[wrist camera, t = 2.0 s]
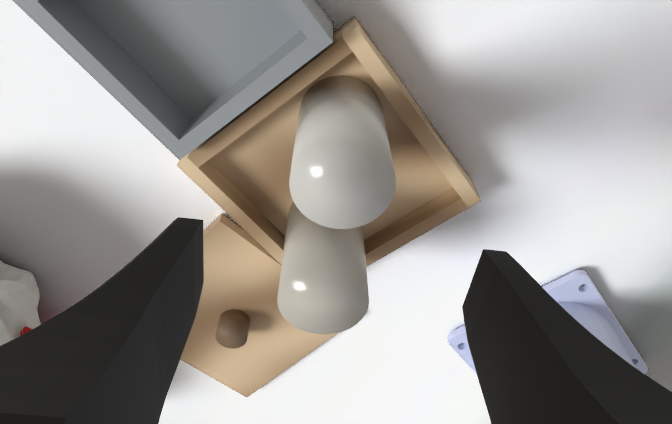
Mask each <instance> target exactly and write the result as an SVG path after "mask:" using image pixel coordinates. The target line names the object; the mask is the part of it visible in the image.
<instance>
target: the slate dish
mask: <svg viewBox="0 0 672 424" xmlns="http://www.w3.org/2000/svg"><path fill="white" fill-rule="evenodd" d="M13 1H14V2H15V3H16V4H17V5H18V6H19V7H20V8H21V9H22V10H23V11H24V12H25V13H26V14H27V15H28V16H29V17H30V18H32V19H33V20H34V21H35V22H36V23H37V24H38V25H39V26H40V27H41V28H42V29H43V30H44V31H45V32H46V33H47V34H48V35H49V36H50V37H51V38H52V39H54V40H55V41H56V42H57V43H58V44H59V45H60V46H61V47H62V48H63V49H64V50H65V51H66V52H67V53H68V54H69V55H70V56H71V57H72V58H73V59H74V60H75V61H77V62H78V63H79V64H80V65H81V66H82V67H83V68H84V69H85V70H86V71H87V72H88V73H89V74H90V75H91V76H92V77H93V78H94V79H95V80H96V81H97V82H98V83H100V84H101V85H102V86H103V87H104V88H105V89H106V90H107V91H108V92H109V93H110V94H111V95H112V96H113V97H114V98H115V99H116V100H117V101H118V102H119V103H120V104H121V105H123V106H124V107H125V108H126V109H127V110H128V111H129V112H130V113H131V114H132V115H133V116H134V117H135V118H136V119H137V120H138V121H139V122H140V123H141V124H142V125H143V126H144V127H146V128H147V129H148V130H149V131H150V132H151V133H152V134H153V135H154V136H155V137H156V138H157V139H158V140H159V141H160V142H161V143H162V144H163V145H164V146H165V147H166V148H167V149H169V150H170V151H171V152H172V153H173V154H174V155H175V156H176V157H177V158H178V159H179V160H181V159H182V158H183V157H184V156H186V155H187V154H188V153H190V152H191V151H192V150H194V149H195V148H196V147H197V146H199V145H200V144H201V143H203V142H204V141H205V140H207V139H208V138H209V137H210V136H212V135H213V134H214V133H216V132H217V131H218V130H220V129H221V128H222V127H223V126H225V125H226V124H227V123H229V122H230V121H231V120H233V119H234V118H235V117H236V116H238V115H239V114H240V113H242V112H243V111H244V110H245V109H247V108H248V107H249V106H251V105H252V104H253V103H255V102H256V101H257V100H258V99H260V98H261V97H262V96H264V95H265V94H266V93H268V92H269V91H270V90H271V89H273V88H274V87H275V86H277V85H278V84H279V83H281V82H282V81H283V80H284V79H286V78H287V77H288V76H290V75H291V74H292V73H294V72H295V71H296V70H297V69H299V68H300V67H301V66H303V65H304V64H305V63H306V62H308V61H309V60H310V59H312V58H313V57H314V56H316V55H317V54H318V53H319V52H321V51H322V50H323V49H325V48H326V47H327V46H329V45H330V44H331V43H332V42H333V22H332V21H331V20H330V18H329V17H328V16H327V14H326V13H325V12H324V10H323V9H322V8H321V6H320V5H319V4H318V2H317V1H316V0H13Z"/></svg>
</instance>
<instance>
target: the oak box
mask: <svg viewBox="0 0 672 424" xmlns="http://www.w3.org/2000/svg"><path fill="white" fill-rule="evenodd" d="M337 75H345V76H351V77H355V78H358V79H360V80H362V81H364V82H365V83H367V84H368V85H369V86H370V87H371V88H372V89H373V90H374V91H375V93H376V94H377V96H378V98H379V100H380V102H381V106H382V110H383V115H384V120H385V126H386V131H387V136H388V141H389V146H390V151H391V156H392V161H393V166H394V171H395V177H396V188H395V193H394V196H393V199H392V201H391V203H390V205H389V206H388V208H387V209H386V210H385V211H384V212H383V213H382V214H381V215H380V216H379V217H378V218H376V219H375V220H373V221H371V222H370V223H368V224H365V225H363V235H364V247H365V259H366V267H367V266H368V265H370V264H372V263H374V262H375V261H377V260H379V259H381V258H382V257H384V256H386V255H387V254H389V253H391V252H393V251H394V250H396V249H398V248H400V247H401V246H403V245H405V244H407V243H408V242H410V241H412V240H414V239H415V238H417V237H419V236H420V235H422V234H424V233H426V232H427V231H429V230H431V229H433V228H434V227H436V226H438V225H440V224H441V223H443V222H445V221H447V220H448V219H450V218H452V217H453V216H455V215H457V214H459V213H460V212H462V211H464V210H466V209H467V208H469V207H471V206H473V205H474V204H476V203H478V202H480V201H481V200H480V198H479V195H478V193H477V191H476V188H475V186H474V184H473V182H472V180H471V179H470V177H469V176H468V174H467V173H466V172H465V170H464V169H463V167H462V166H461V165H460V163H459V162H458V160H457V159H456V158H455V156H454V155H453V153H452V152H451V151H450V149H449V148H448V146H447V145H446V144H445V142H444V141H443V139H442V138H441V137H440V135H439V134H438V132H437V131H436V130H435V128H434V127H433V125H432V124H431V123H430V121H429V120H428V118H427V117H426V116H425V114H424V113H423V111H422V110H421V108H420V107H419V106H418V104H417V103H416V101H415V100H414V99H413V97H412V96H411V94H410V93H409V92H408V90H407V89H406V87H405V86H404V85H403V83H402V82H401V80H400V79H399V78H398V76H397V75H396V73H395V72H394V71H393V69H392V68H391V66H390V65H389V64H388V62H387V61H386V59H385V58H384V57H383V55H382V54H381V52H380V51H379V50H378V48H377V47H376V45H375V44H374V42H373V41H372V40H371V38H370V37H369V35H368V34H367V33H366V31H365V30H364V28H363V27H362V26H361V24H360V23H359V21H358V20H357V19H356V17H353V18H352V19H351V20H349V21H348V22H347V23H346V24H344V25H343V26H342V27H340V28H339V29H338V30H337V31H335V32H334V33H333V42H332V43H331V44H330V45H329V46H327V47H326V48H325V49H323V50H322V51H321V52H319V53H318V54H317V55H316V56H314V57H313V58H312V59H310V60H309V61H308V62H306V63H305V64H304V65H303V66H301V67H300V68H299V69H297V70H296V71H295V72H294V73H292V74H291V75H290V76H288V77H287V78H286V79H284V80H283V81H282V82H281V83H279V84H278V85H277V86H275V87H274V88H273V89H271V90H270V91H269V92H268V93H266V94H265V95H264V96H262V97H261V98H260V99H258V100H257V101H256V102H255V103H253V104H252V105H251V106H249V107H248V108H247V109H245V110H244V111H243V112H242V113H240V114H239V115H238V116H236V117H235V118H234V119H233V120H231V121H230V122H229V123H227V124H226V125H225V126H223V127H222V128H221V129H220V130H218V131H217V132H216V133H214V134H213V135H212V136H210V137H209V138H208V139H207V140H205V141H204V142H203V143H201V144H200V145H199V146H197V147H196V148H195V149H194V150H192V151H191V152H190V153H188V154H187V155H186V156H184V157H183V158H182V159H181V160H179V162H178V164H177V166H178V167H179V168H180V169H181V170H182V171H183V172H184V173H185V174H186V175H187V176H188V177H189V178H191V179H192V180H193V181H194V182H195V183H196V184H197V185H198V186H199V187H200V188H201V189H202V190H203V191H204V192H205V193H206V194H207V195H208V196H210V197H211V198H212V199H213V200H214V201H215V202H216V203H217V204H218V205H219V206H220V207H221V208H222V209H223V210H224V211H225V212H226V213H227V214H229V215H230V216H231V217H232V218H233V219H234V220H235V221H236V222H237V223H238V224H239V225H240V226H241V227H242V228H243V229H244V230H245V231H246V232H248V233H249V234H250V235H251V236H252V237H253V238H254V239H255V240H256V241H257V242H258V243H259V244H260V245H261V246H262V247H263V248H264V249H265V250H267V251H268V252H269V253H270V254H271V255H272V256H273V257H274V258H275V259H276V260H277V261H278V262H279V263H280V264H281V265H282V258H283V251H284V243H285V235H286V227H287V219H288V212H289V209H290V206H291V204H292V203H293V199H292V197H291V193H290V187H289V179H290V172H291V165H292V157H293V150H294V143H295V136H296V128H297V121H298V114H299V108H300V104H301V101H302V99H303V97H304V95H305V93H306V92H307V91H308V90H309V88H310V87H312V86H313V85H314V84H315V83H317V82H318V81H320V80H322V79H324V78H327V77H331V76H337Z"/></svg>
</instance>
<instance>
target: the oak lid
mask: <svg viewBox="0 0 672 424" xmlns="http://www.w3.org/2000/svg"><path fill="white" fill-rule="evenodd" d="M203 261H204V283H203V288H202V292H201V296H200V301H199V305H198V309H197V313H196V317H195V320H194V323H193V325H192V328H191V331H190V334H189V336H188V339H187V342H186V344H185V347H184V350H183V352H182V355H181V358H180V359H181V360H182V361H184V362H186V363H188V364H189V365H191V366H193V367H195V368H196V369H198V370H200V371H202V372H203V373H205V374H207V375H209V376H210V377H212V378H214V379H215V380H217V381H219V382H221V383H222V384H224V385H226V386H228V387H229V388H231V389H233V390H235V391H236V392H238V393H240V394H242V395H243V396H245V397H248V396H250V395H251V394H252V393H254V392H255V391H257V390H258V389H259V388H261V387H262V386H264V385H265V384H266V383H268V382H269V381H271V380H272V379H274V378H275V377H276V376H278V375H279V374H281V373H282V372H283V371H285V370H286V369H288V368H289V367H290V366H292V365H293V364H295V363H296V362H297V361H299V360H300V359H302V358H303V357H305V356H306V355H307V354H309V353H310V352H312V351H313V350H314V349H316V348H317V347H319V346H320V345H321V344H323V343H324V342H326V341H327V340H328V339H330V338H331V337H333V336H334V335H335V334H337V333H333V334H314V333H309V332H305V331H302V330H300V329H298V328H296V327H294V326H293V325H291V324H290V323H289V322H288V321H287V320H286V319H285V318H284V317H283V316H282V314H281V312H280V311H279V308H278V303H277V297H278V290H279V282H280V274H281V266H282V265H281V264H280V263H279V262H278V261H277V260H276V259H275V258H274V257H273V256H272V255H271V254H270V253H269V252H268V251H267V250H265V249H264V248H263V247H262V246H261V245H260V244H259V243H258V242H257V241H256V240H255V239H254V238H253V237H252V236H251V235H250V234H249V233H248V232H246V231H245V230H244V229H242V228H241V227H240V226H238V225H237V224H235V223H234V222H233V221H231V220H230V219H229V218H227V217H226V216H225V215H223V214H221V215H220V216H219V217H218V218H217V219H216V220H215V221H214V222H213V223H212V224H210V225H209V226H208V227H207V228H206V229H205V230H204V231H203Z"/></svg>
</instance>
